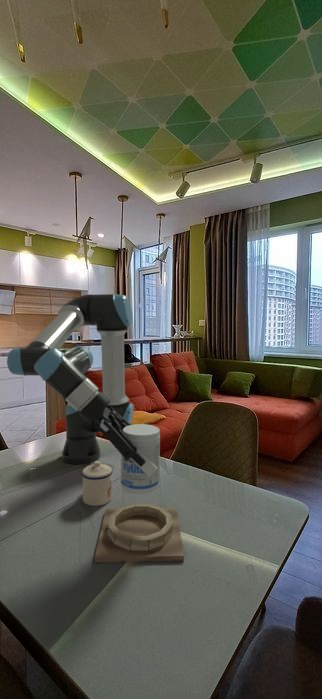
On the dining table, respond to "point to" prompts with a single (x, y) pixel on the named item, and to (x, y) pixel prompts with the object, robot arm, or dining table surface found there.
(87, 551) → the dining table surface
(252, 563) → the dining table surface
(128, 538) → the ring holder
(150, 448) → the supplement tub
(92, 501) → the teacup with lid
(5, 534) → the dining table surface
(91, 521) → the dining table surface
